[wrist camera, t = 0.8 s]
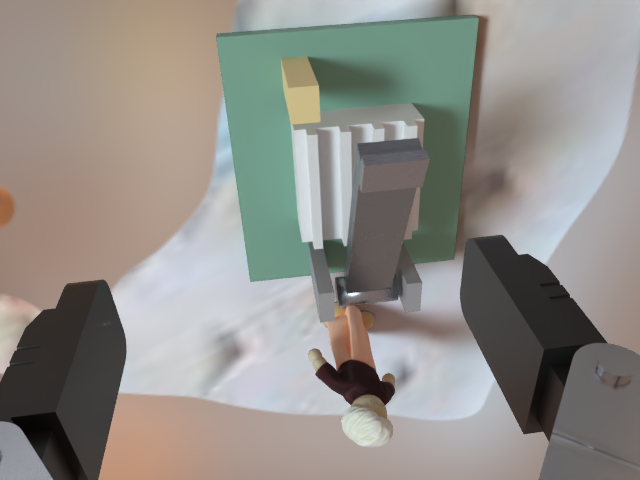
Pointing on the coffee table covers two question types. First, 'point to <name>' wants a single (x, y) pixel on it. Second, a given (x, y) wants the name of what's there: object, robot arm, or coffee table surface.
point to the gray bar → (379, 218)
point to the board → (344, 138)
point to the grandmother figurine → (356, 377)
